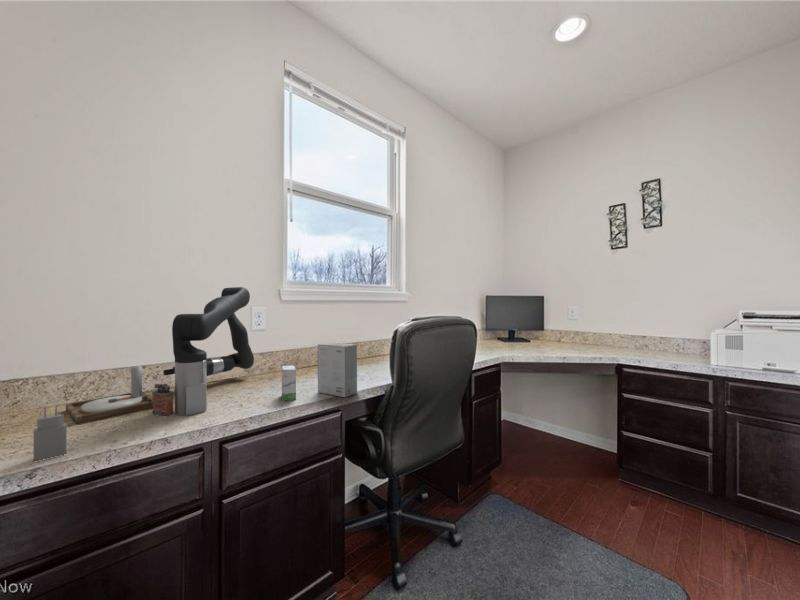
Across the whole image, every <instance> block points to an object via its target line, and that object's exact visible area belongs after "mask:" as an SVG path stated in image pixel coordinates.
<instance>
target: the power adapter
mask: <svg viewBox="0 0 800 600" xmlns="http://www.w3.org/2000/svg"><path fill="white" fill-rule="evenodd" d="M54 407H55V408H54V409H55V410H54V411H55V412H54V414H53V415H48V416H47V407H44V410H43V412H44V413H43V416H42V417H40V418H37V420H36V422H37V423H36V425H37V426H36V428H34V429H33V458H32V459H33V462H34V461H38V462H40V461H39V460H42V461H44V460H43V459H46V460H48V459H47V458H51V457H55V456H60V455H63V456H65V455H64V454H66V455H67V438H68V437H67V435H68V433H67V431H68V430H67V428H68V427H67V426H68V425H67V422H64V414H58V406H57V405H55V406H54ZM60 457H61V456H60ZM55 458H56V457H55ZM51 459H52V458H51Z"/></svg>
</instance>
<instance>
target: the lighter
mask: <svg viewBox="0 0 800 600" xmlns="http://www.w3.org/2000/svg"><path fill="white" fill-rule="evenodd" d="M154 388H155V389H156V390H152V392H151V394H152V398H153V409H152V411H151V414H153V416H156V415H158V416H157V417H164V416H167V417H171V416H170V415H172V416H174V415H173V414H175V411H174V395H175V391H172V390H170V389H171V385H170V384H169V385H168V384H167V383H163V384H162V383H155V384H154Z"/></svg>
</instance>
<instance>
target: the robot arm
mask: <svg viewBox="0 0 800 600" xmlns="http://www.w3.org/2000/svg"><path fill="white" fill-rule="evenodd" d="M220 295H221V296H218V297H216V298H214V299H212V300H211V301H208V303H206V304H205V305H204V308H203V313H181V314H177V315H176V316H174V318H173V321H172V326H171V327H172V328H171V330H172V332H171V333H172V347H173V348H172V353H173V356H174V366H172V368H168V369H164V370H163V372H162V373H163V376H170V375H174V414H175V415H178V416H185V417H187V416H191V415H192V416H193V415H195V414H199V413H200V414H201V413H205V412H206V411H207V407H208V406H207V405H208V404H207V401H208V399H207V398H208V397H207V393H208V392H207V389H208V388H207V384H208V383H207V381H208V380H207V377H208V376H212V375H213V376H214V375H217V374H221V373H226V372H229V371H232V370H233V369H234V368H240V369H244V370H248V369H249V370H250V369H251V368H252V367H253V365H254V362H255V357H254V354H253V351H252V349H251V346H250V344H249V343H250V341H249V336H248V335H249V334H248V331H247V328H246V327H245V325H244V324H243V323H242V322H241V321H240V319H239V318H238V317H237V315H236V312H238V311H239V310H241V309H243V308H245V307H246V306H247V305H248V304H249V302H250V299H251V295H250V292H249V290H248V288H246V287H243V286H236V287H234V286H232V287H225V288H222V291H221V294H220ZM226 320H227V324H228V326H229V331H230V336H231V342H232V343H231V345H232V348H233V349H234V351H236V352H234V353H231V354H228V355H225V356H218V357H215V356H213V357H207V356H208V353H207V352H206V351H205V350H204V349H200V348H197V347H195V346H194V345H193V344H192V343H191V342H192V341H193V342H195V341H196V342H197V341H199V342H200V341H204V340H205V341H206V340H207V339H208V338H210V336H211V335H212V334H213V333H214V332H215V330H217V328H218V327H219V326H220V325H222V323H223V322H225V321H226Z"/></svg>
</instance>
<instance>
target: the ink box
mask: <svg viewBox="0 0 800 600" xmlns="http://www.w3.org/2000/svg"><path fill="white" fill-rule="evenodd" d="M296 371H297V369H296V367H295V365H282V366H281V397H282V401H283V402H285V400H287V401H293V400H294V399H295V400H297V374H296V373H297V372H296ZM295 400H294V401H295Z"/></svg>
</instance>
